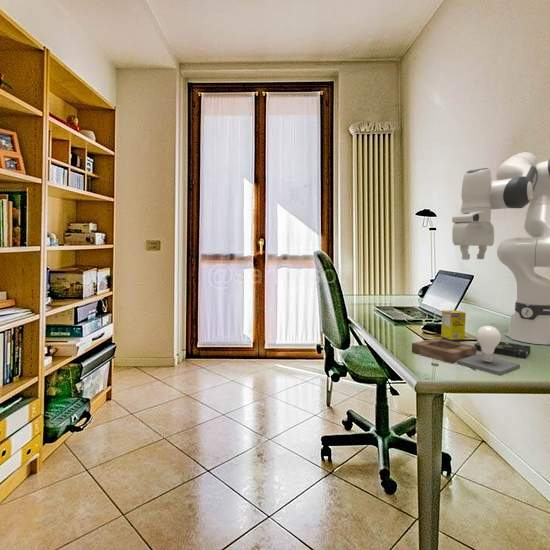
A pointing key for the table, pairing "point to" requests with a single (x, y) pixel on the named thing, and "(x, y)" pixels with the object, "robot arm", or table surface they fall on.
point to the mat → (488, 364)
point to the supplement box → (453, 325)
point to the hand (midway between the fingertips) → (473, 259)
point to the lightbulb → (488, 341)
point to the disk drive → (509, 349)
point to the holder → (443, 349)
